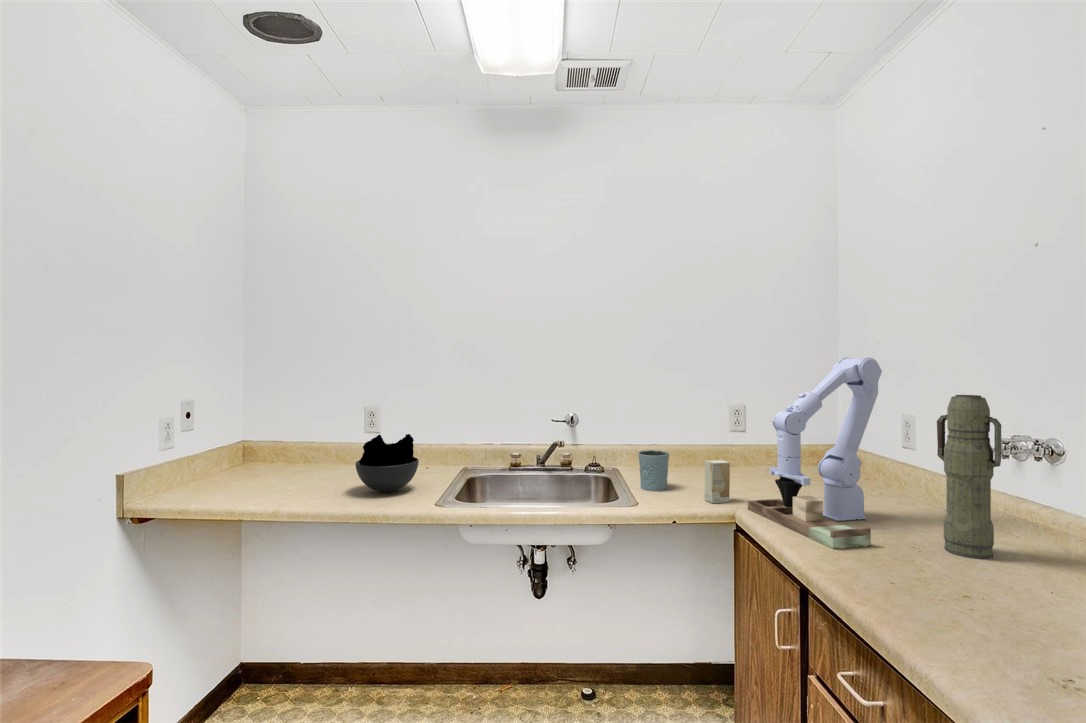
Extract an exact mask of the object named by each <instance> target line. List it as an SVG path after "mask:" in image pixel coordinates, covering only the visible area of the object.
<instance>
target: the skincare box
mask: <svg viewBox="0 0 1086 723" xmlns="http://www.w3.org/2000/svg"><path fill="white" fill-rule="evenodd" d="M730 476H731V462H729V461H727V460H723V459H718V460H717V459H716V460H705V461H704V501H706V502H708V503H710V504H720V503H721V504H723V503H730V482H731V480H730V478H731V477H730Z"/></svg>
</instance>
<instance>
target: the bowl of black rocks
mask: <svg viewBox="0 0 1086 723" xmlns="http://www.w3.org/2000/svg"><path fill="white" fill-rule="evenodd" d="M362 449H363V452H362V456H361V458H360V459H359V460H357V461H355V470H356V474H357V476H358V477H359V479H360V481H361V482H362V483H363V484H364V485H365V486H366V487H368V488H370V489H371V490H373V491H376V492H380V493H390V492H395V491H397V490H400V489H402V488H404V487H406V486H407V485H408V484H409V483H410V481H412V480H413V478H414V477H415V475H416V473H417V470H418V467H419V462H420V461H419V460H420V459H419V458H417V457H414V437H412V434H410V433H407V434H405V436H404V437H402V439H399V440H398V441H396V442H393V443H386V442H385V440H384V439H383V437H382V435H381V434H377V435H376V436H375V437H373V438H371V439H370V440H369V441H366V442H365V443H364V445H362Z"/></svg>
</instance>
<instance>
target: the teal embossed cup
mask: <svg viewBox="0 0 1086 723" xmlns="http://www.w3.org/2000/svg"><path fill="white" fill-rule="evenodd" d="M637 454H638V461H639V463H638V464H639V477H640V479H639V480H640V489H642V490H643V491H649V492H664V491H667V489H668V473H669V460H670V458H669V457H670V452H668V451H666V450H654V449H651V450H650V449H647V450H639V451H638V452H637Z"/></svg>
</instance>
